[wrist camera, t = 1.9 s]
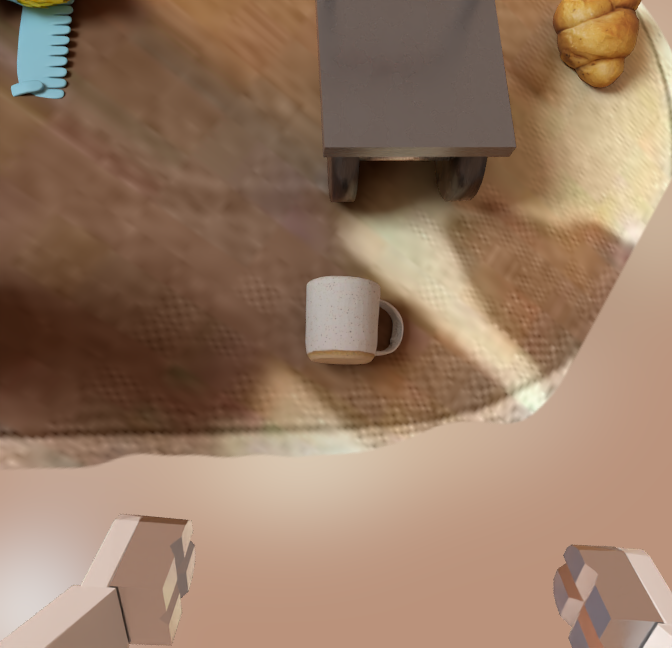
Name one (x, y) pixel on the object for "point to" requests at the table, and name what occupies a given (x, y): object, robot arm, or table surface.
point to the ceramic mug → (346, 320)
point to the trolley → (412, 89)
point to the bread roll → (596, 37)
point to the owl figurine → (42, 47)
